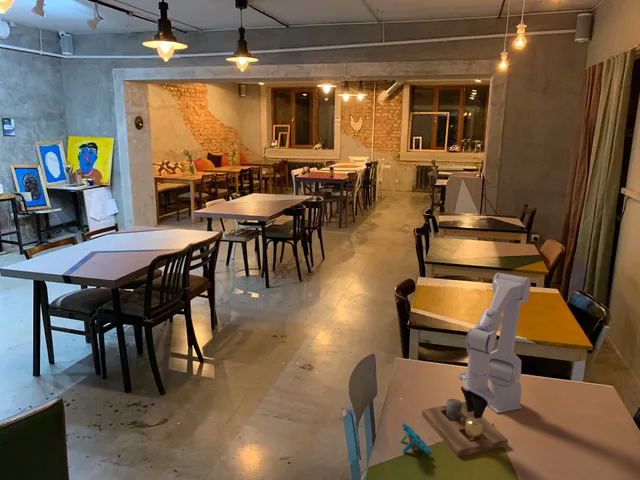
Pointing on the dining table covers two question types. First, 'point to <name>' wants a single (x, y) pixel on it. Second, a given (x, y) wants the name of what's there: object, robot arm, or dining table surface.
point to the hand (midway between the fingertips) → (474, 414)
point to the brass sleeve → (473, 429)
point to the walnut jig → (462, 428)
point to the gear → (413, 439)
